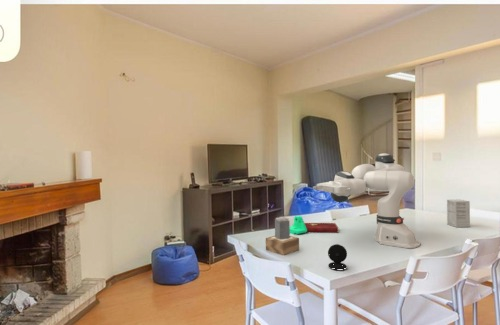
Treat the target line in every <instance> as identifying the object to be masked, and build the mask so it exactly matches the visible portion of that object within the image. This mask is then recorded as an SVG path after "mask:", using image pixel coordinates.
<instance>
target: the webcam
mask: <svg viewBox="0 0 500 325" xmlns="http://www.w3.org/2000/svg"><path fill="white" fill-rule="evenodd" d="M327 250H328V251H327V256H328V259H329V260H330V261H332V262H329V263H328V268H329V267H331V268H335V269H344V268H346V267H348V266H347V264H345V263H343V262H344V261H345V260H346V259H347V256H348V252H347V249H346V248H345V246H343V245H341V244H338V243H337V244H333V245H332V244H331V246H330V247H329V248H328V249H327ZM333 264H334V266H332V265H333ZM341 265H343V267H342V266H341ZM346 269H347V268H346Z"/></svg>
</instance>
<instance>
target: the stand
mask: <svg viewBox="0 0 500 325" xmlns="http://www.w3.org/2000/svg"><path fill="white" fill-rule="evenodd" d="M265 250H266V251H269V252H272V253H275V254H278V255H281V256H285V255H289V254H291V253H294V252H297V251H299V250H300V238H299V237H297V236H296V237H295V236H292V235H290V238H289V239H281V240H280V239H278V238H276V237H275V235H272V236H269V237H265Z"/></svg>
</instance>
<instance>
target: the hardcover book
mask: <svg viewBox="0 0 500 325" xmlns="http://www.w3.org/2000/svg"><path fill="white" fill-rule="evenodd" d="M304 223H305V226H306V228H307V232H310V233H309V234H311V233H313V234H314V233H315V234H317V233H319V234H320V233H322V234H325V233H326V234H330V233H331V234H339V227H338V225H337V223H336V222H304Z"/></svg>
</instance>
